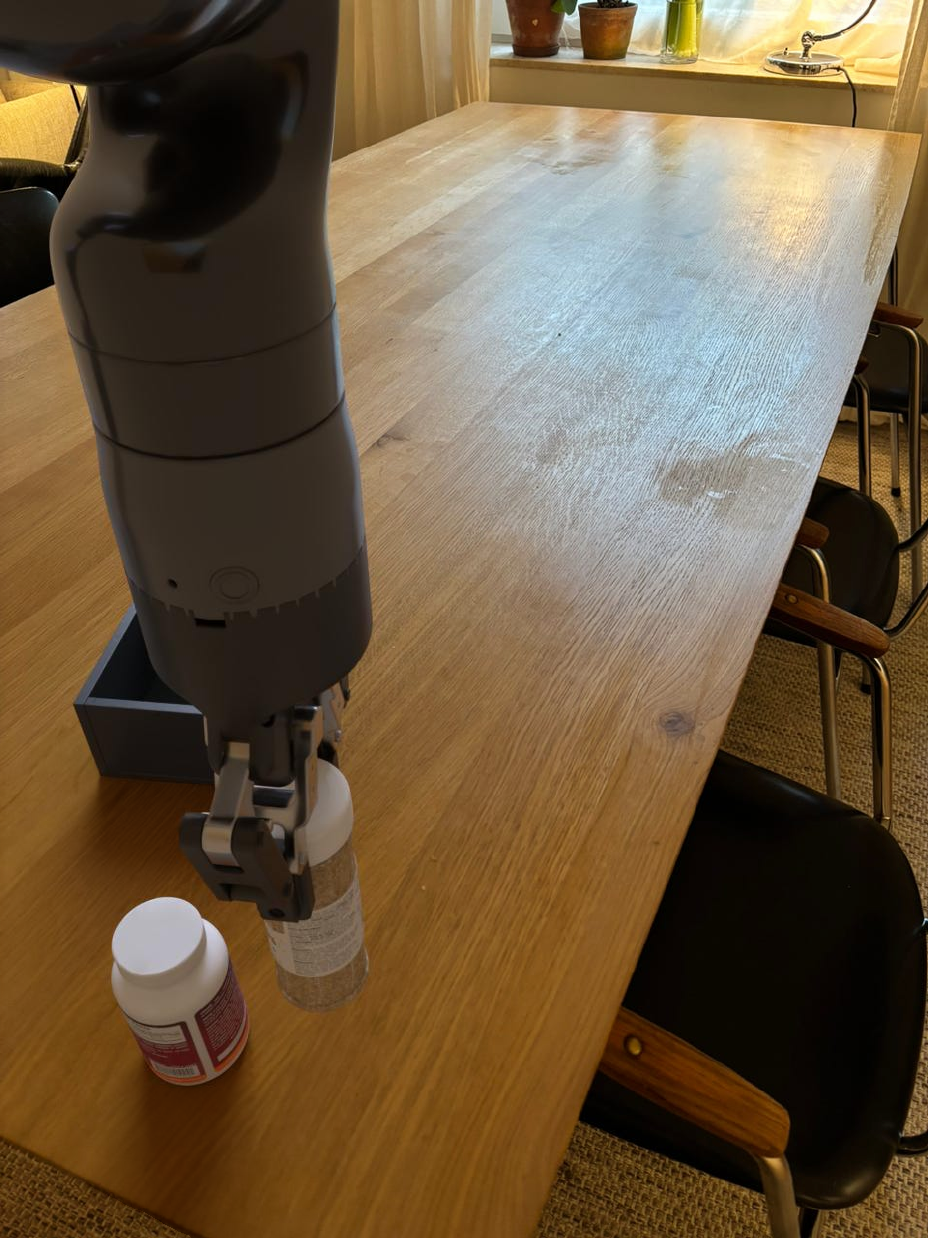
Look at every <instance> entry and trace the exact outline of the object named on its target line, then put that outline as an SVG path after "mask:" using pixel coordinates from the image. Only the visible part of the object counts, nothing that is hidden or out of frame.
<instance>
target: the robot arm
mask: <svg viewBox="0 0 928 1238" xmlns="http://www.w3.org/2000/svg"><path fill="white" fill-rule="evenodd" d="M341 2H342V0H0V69H3V70H6V71H10V72H13V73H17V74H21V75H24V76H28V77H31V78H36V79H39V80H43V81H48V82H53V83H57V84H63V85H70V86H79V87H86V96H87V107H88V122H89V134H88V135H89V137H88V144H87V149H86V152H85V155H84V158H83V160H82V163H81V165H80V166H79V168H78V170H77V172H76V174H75V176H74V177H73V179H72V181H71V183H70V184H69V186H68V188H67V189H66V191H65V193H64V195H63V197H62V198H61V200H60V202H59V204H58V205H57V208H56V211H55V213H54V215H53V218H52V221H51V226H50V232H49V255H50V265H51V270H52V276H53V281H54V285H55V291H56V295H57V299H58V304H59V307H60V310H61V314H62V317H63V320H64V321H63V322H64V324H65V327H66V331H67V335H68V338H69V342H70V345H71V349H72V352H73V356H74V360H75V363H76V367H77V370H78V374H79V378H80V381H81V385H82V389H83V392H84V395H85V399H86V400H85V401H86V402H87V407H88V411H89V414H90V417H91V422H92V427H93V428H92V429H93V432H94V436H95V443H96V451H97V452H96V453H97V460H98V470H99V477H100V485H101V490H102V494H103V498H104V503H105V506H106V510H107V513H108V517H109V520H110V524H111V528H112V532H113V535H114V539H115V541H116V546H117V548H118V552H119V556H120V559H121V562H122V566H123V570H124V574H125V577H126V580H127V585H128V587H129V590H130V594H131V598H132V602H133V601H134V605H135V608H136V612H137V615H138V619H139V622H140V626H141V629H142V633H143V636H144V640H145V644H146V647H147V651H148V654H149V657H150V661H151V663H152V665H153V668H154V669H155V671H156V673H157V674H158V676H159V677H160V678H161V679H162V681H163V682H164V683H165V684H166V685H167V686H168V687H169V688H171V689H172V690H173V691H174V692H176V693H177V694H178V695H180V696H181V697H183V698H184V699H185V700H187V701H188V702H189V703H190V704H192V705H193V706H194V707H195V708H196V709H198V710H199V711H200V712H201V713H202V714H203V715H204V732H205V742H206V745H207V752H208V760H209V763H210V766H211V768H212V769H213V771H214V776H215V785H214V788H215V790H214V794H213V797H212V798H213V799H212V802H211V805H210V809H209V812H207V811H202V812H193V811H187V812H185V814H184V815H183V817H182V819H181V822H180V825H179V827H178V833H177V835H178V846H179V849H180V851H181V852H182V853H183V855H184V856H185V857H186V859H187V860H188V862H189V863H190V864H191V866H192V867H193V868H194V869H195V871H196V873H197V874H198V875H199V876H200V878H201V879H202V881H203V882H204V883H205V885H206V886H207V888H208V889H209V890H210V891H211V893H212V894H213V896H214V897H215V898H216V900H217V901H220V902H221V901H222V902H229V903H232V902H243V903H253V904H256V909H257V912H258V913H259V917H260V918H261V919H262V920H263V921H264V920H273V921H282V922H292V923H298V922H299V920H308V919H310V918H311V916H312V912H313V908H314V905H315V894H314V889H313V883H312V877H311V872H310V866H309V860H308V852H307V851H306V825H307V824H308V822H309V820H310V818H311V816H312V814H313V812H314V809H315V807H316V805H317V803H318V773H317V758H319V759H322V760H325V761H327V762H329V763H330V764H332V765H333V766H335V767H336V768H337V769H338V770H339V771H340V765H339V764H340V763H339V758H338V757H339V756H338V750H339V749H340V744H341V743H342V742H343V738H344V730H342V724H341V723H342V722H341V721H342V717H343V711H344V710H345V709H346V708H347V706H348V702H349V701H350V699H351V689H350V685H349V684H350V680H349V678H350V677H349V675H350V673H351V672H352V671H353V670H354V669H355V667H356V666H357V665H358V664H359V663H360V661H361V660H362V659H363V657H364V655H365V653H366V652H367V649H368V647H369V645H370V642H371V638H372V634H373V629H374V618H373V617H374V616H373V615H374V614H373V604H372V603H373V602H372V591H371V581H370V568H369V556H368V555H369V554H368V545H367V543H368V542H367V532H366V522H365V512H364V511H365V509H364V499H363V485H362V476H361V475H362V473H361V464H360V455H359V449H358V444H357V440H356V435H355V431H354V427H353V426H354V425H353V423H352V418H351V415H350V411H349V406H348V401H347V395H346V387H345V381H344V370H343V369H344V368H343V359H342V348H341V347H342V346H341V337H340V327H339V326H340V325H339V315H338V314H339V313H338V303H337V290H336V289H337V288H336V281H335V274H334V267H333V262H332V261H333V260H332V255H331V250H330V242H329V234H328V233H329V232H328V207H329V206H328V205H329V190H330V179H331V168H332V159H333V150H334V140H335V139H334V138H335V127H336V126H335V125H336V124H335V123H336V108H337V90H338V89H337V87H338V69H339V51H340V50H339V48H340V34H341V33H340V29H341V28H340V27H341V5H342V4H341ZM294 780H295V790H285V789H275V788H264V787H254V786H265V787H276V788H281V787H285V786H288V785H289V784H291V783H292V782H293V781H294ZM274 824H276V825H279V826H281V827H282V828H283V830H284V838H285V839H279V838H273V836H272V834H271V833H272V831H273V827H274Z"/></svg>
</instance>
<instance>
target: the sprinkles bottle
mask: <svg viewBox="0 0 928 1238" xmlns="http://www.w3.org/2000/svg"><path fill="white" fill-rule="evenodd" d="M317 773H318V803H317V805H316V807H315V809H314V812H313V814H312V816H311V818H310V820H309V822H308V824H307V825H306V851H307V852H308V860H309V866H310V872H311V877H312V883H313V889H314V894H315V905H314V908H313V912H312V916H311V918H310V919H308V920H299V922H298V923H292V922H282V921H273V920H264V919H263V922H264V927H265V931H266V935H267V940H268V944H269V949H270V951H271V955H272V956H273V958H274V963H275V976H276V983H277V986H278V989H279V991H280V992H281V994H282V996H283V998H284V999H285V1000H286V1001H287V1002H288V1003H289V1004H290V1005H292V1006H293V1007H295V1008H297V1009H299V1010H301V1011H303V1012H304V1011H305V1012H308V1013H311V1014H312V1013H313V1014H320V1015H322V1014H326V1013H330V1012H334V1011H338V1010H339V1009H342V1008H344V1007H346V1006H348V1005H349V1004H350V1003H352V1002H353V1001H355V1000H356V999H357V997H358V996H359V995H360V994H361V992H362V991H363V989H364V987H365V986H366V984H367V981H368V978H369V975H370V969H371V968H370V957H369V953H368V950H367V948H366V945H365V941H364V936H365V925H364V916H363V906H362V898H361V890H360V889H361V888H360V881H359V871H358V862H357V857H356V855H355V852H354V845H353V835H352V833H353V827H354V822H355V821H354V820H355V816H354V808H353V801H352V800H353V799H352V793H351V790H350V789H351V788H350V786H349V783H348V780H347V779H346V777H345V776H344V773H343V772H342V771H341V770H340V769H339V770H338V769H337V768H336V767H335V766H333V765H332V764H330V763H329V762H327V761H325V760H322V759H319V758H317ZM254 787H264V788H275V789H285V790H295V780H294V781H293V782H292V783H291V784H289V785H288V786H285V787H281V788H276V787H265V786H254ZM271 834H272V836H273V838H279V839H285V838H284V830H283V828H282V827H281V826H279V825H276V824H274V827H273V831H272V833H271Z"/></svg>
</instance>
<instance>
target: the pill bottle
mask: <svg viewBox="0 0 928 1238" xmlns="http://www.w3.org/2000/svg"><path fill="white" fill-rule="evenodd" d="M111 954H112V958H113V963H112V964H113V965H112V968H111V975H110V977H111V978H110V979H111V980H110V981H111V982H110V983H111V989H112V992H113V996H114V998H115V1000H116V1003H117V1006H118V1007H119V1009H120V1011H121V1012H122V1015H123V1017H124V1019H125V1021H126V1023H127V1024H128V1026H129V1029H130V1031H131V1033H132V1036H133V1038H134V1039H135V1041H136V1043H137V1045H138V1048H139V1049H140V1051H141V1053H142V1055H143V1057H144V1060H145V1062H146V1063H147V1065H148V1066H149V1068H150V1070H152V1072H153V1073H154V1074H155V1075H156V1076H158V1077H159V1078H160V1079H162V1080H163V1081H165V1082H168V1083H170V1084H173V1085H177V1086H197V1085H201V1084H204V1083H207V1082H210V1081H212V1080H214V1079H216V1078H217V1077H219V1076H221V1075H222V1074H223V1073H224V1072H226V1071H227V1070H228V1069H230V1068H231V1066H233V1065H234V1063H235V1062H237V1060H238V1058H239V1057H240V1055H241V1054H242V1052H243V1051H244V1049H245V1046H246V1044H247V1041H248V1038H249V1034H250V1015H249V1010H248V1006H247V1003H246V1001H245V998H244V994H243V991H242V989H241V986H240V983H239V980H238V977H237V974H236V970H235V968H234V965H233V962H232V959H231V956H230V953H229V950H228V946H227V943H226V941H225V939H224V937H223V936H222V934H221V932H220V931H219V930H218V929H217V927H215V926H214V925H213V923H211V922H210V921H208V920H207V919H205V918H202V915H201V914H200V912H199V911H198V910H197V908H196V907H195V906H194V905H193V904H191V903H190V902H189V901H186V900H185V899H182V898H178V897H171V896H165V897H164V896H163V897H155V898H153V899H150V900H147V901H145V902H142V903H140V904H139V905H137V906H135V907H134V908H132V909H131V910H130V911H129V912H128V913H127V914H126V915H124V917H123V918H122V919H121V920H120V922H119V923H118V925H117V926H116V928H115V930H114V932H113V936H112V940H111Z"/></svg>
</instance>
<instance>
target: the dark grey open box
mask: <svg viewBox="0 0 928 1238" xmlns="http://www.w3.org/2000/svg"><path fill="white" fill-rule="evenodd" d="M72 706H73V708H74V711H75V714H76V716H77V719H78V722H79V724H80V727H81V729H82V732H83V734H84V737H85V740H86V743H87V746H88V748H89V750H90V753H91V755H92V757H93V758H92V759H93V761H94V764H95V766H96V769H97V771H98V774H99V776H105V777H114V778H115V777H116V778H127V779H137V780H147V781H148V780H151V781H162V782H174V783H184V784H193V785H195V784H196V785H205V786H215V776H214V771H213V769H212V768H211V766H210V763H209V760H208V752H207V745H206V742H205V732H204V715H203V714H202V713H201V712H200V711H199V710H198V709H196V708H195V707H194V706H193V705H192V704H190V703H189V702H188V701H187V700H185V699H184V698H183V697H181V696H180V695H178V694H177V693H176V692H174V691H173V690H172V689H171V688H169V687H168V686H167V685H166V684H165V683H164V682H163V681H162V679H161V678H160V677H159V676H158V674H157V673H156V671H155V669H154V668H153V665H152V663H151V661H150V657H149V654H148V651H147V647H146V644H145V640H144V636H143V633H142V629H141V626H140V622H139V619H138V615H137V612H136V608H135V605H134V601H133V600H132V602H131V603H130V605H129V607H128V608H127V610H126V612H125V614H124V615H123V617H122V619H121V620H120V622H119V624H118V626H117V627H116V629H115V632H114V633H113V634H112V636H111V638H110V640H109V641H108V643H107V644H106V647H104V650H103V652H101V654H100V657H99V658H98V660H97V661H96V664H95V665H94V667H93V669H92V670H91V672H90V674H89V675H88V677H87V679H86V680H85V682H84V684H83V685H82V687H81V689H80V691H79V692H78V694H77V696H76V698H75V699H74V701H73V703H72Z"/></svg>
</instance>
